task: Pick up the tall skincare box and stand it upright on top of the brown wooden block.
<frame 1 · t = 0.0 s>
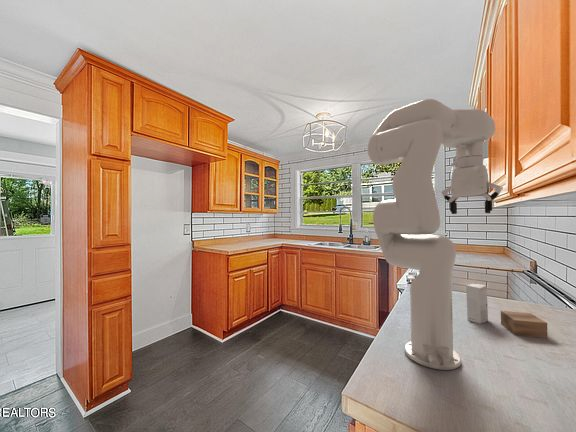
hand: (470, 213, 86), 37 cm above the counter, tool pointing down, fingers open, 9 cm apart
skincare box: (477, 320, 88), on the counter
brown wooden block: (522, 330, 79), on the counter
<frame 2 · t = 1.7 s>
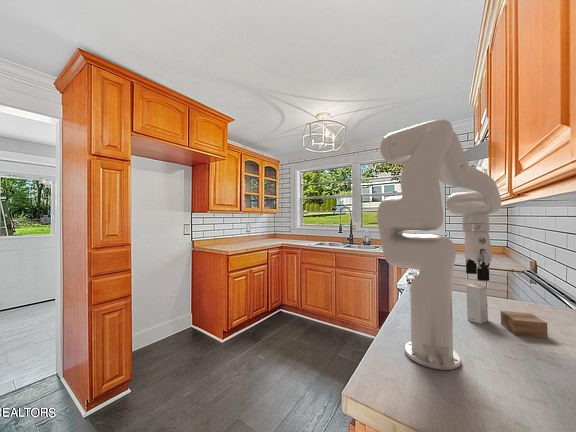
hand: (477, 276, 88), 15 cm above the counter, tool pointing down, fingers open, 9 cm apart
nothing on the counter moved.
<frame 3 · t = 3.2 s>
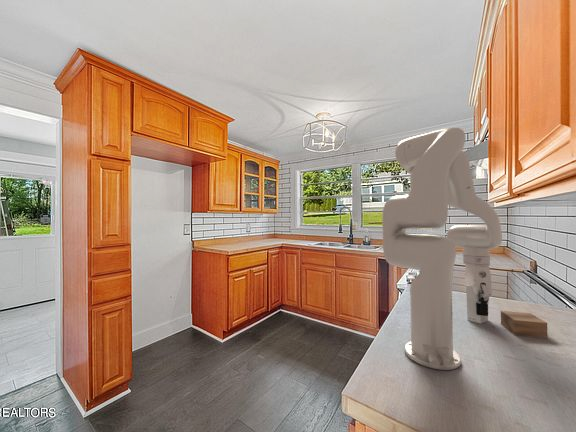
hand: (477, 310, 88), 3 cm above the counter, tool pointing down, fingers closed on skincare box, 7 cm apart
skincare box: (477, 320, 88), on the counter, touching gripper
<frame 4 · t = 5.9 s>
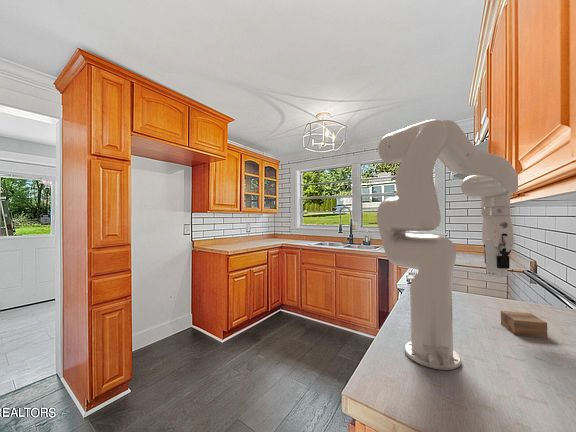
hand: (496, 265, 84), 20 cm above the counter, tool pointing down, fingers closed on skincare box, 7 cm apart
skincare box: (496, 276, 84), point 16 cm above the counter, touching gripper
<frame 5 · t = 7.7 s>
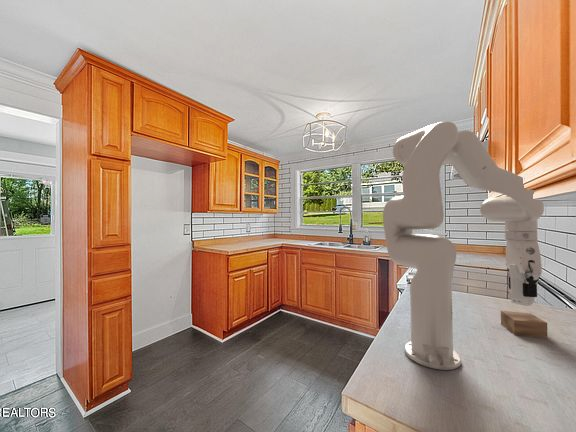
hand: (522, 292, 79), 12 cm above the counter, tool pointing down, fingers closed on skincare box, 7 cm apart
skincare box: (522, 303, 79), point 9 cm above the counter, touching gripper
when the fingers open (9 cm above the counter, at t = 8.9 s): skincare box stays where it is, resting on brown wooden block.
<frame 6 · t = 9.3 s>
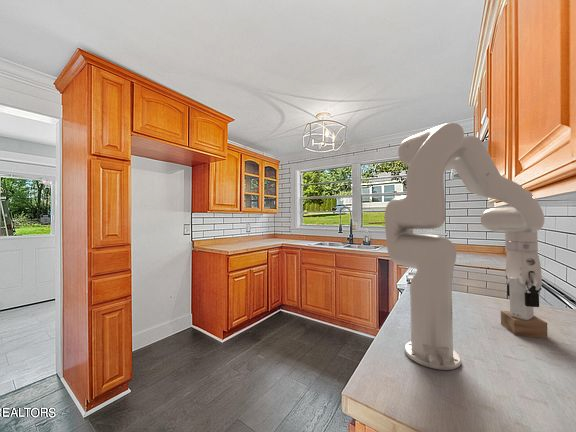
hand: (522, 301, 79), 9 cm above the counter, tool pointing down, fingers open, 9 cm apart
skincare box: (521, 316, 80), point 4 cm above the counter, touching brown wooden block
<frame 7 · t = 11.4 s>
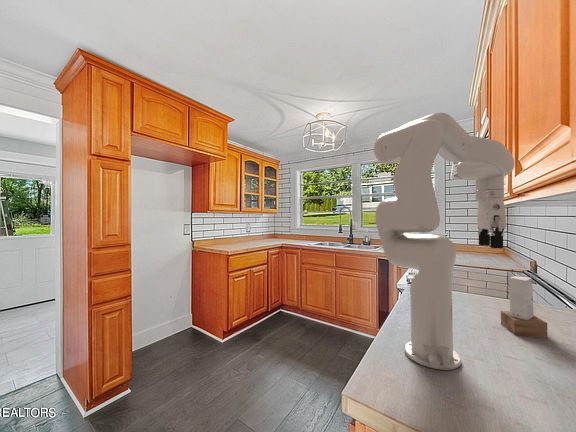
hand: (490, 246, 85), 26 cm above the counter, tool pointing down, fingers open, 9 cm apart
nothing on the counter moved.
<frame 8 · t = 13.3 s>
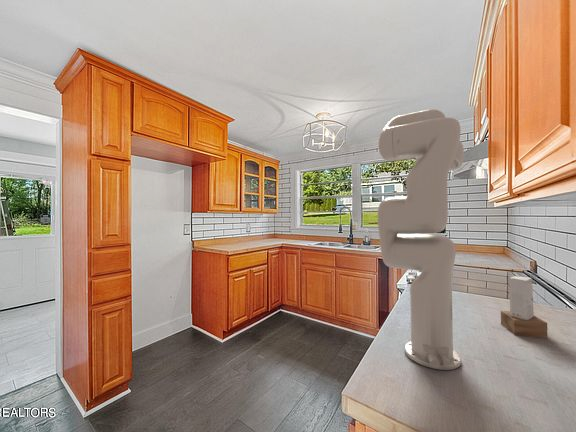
hand: (436, 232, 96), 30 cm above the counter, tool pointing down, fingers open, 9 cm apart
nothing on the counter moved.
at the end: skincare box 0.2 cm off-centre on the brown wooden block, point 4.3 cm above the brown wooden block's base; skincare box tilted 0°; the gripper is holding nothing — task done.
